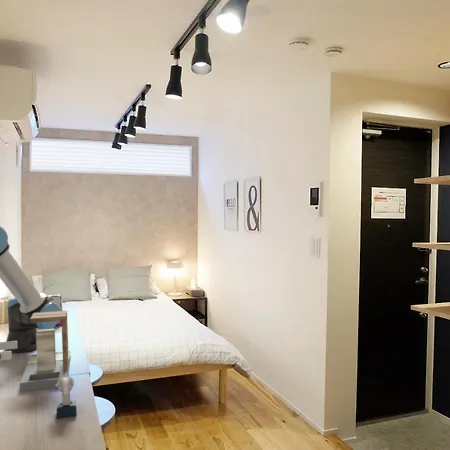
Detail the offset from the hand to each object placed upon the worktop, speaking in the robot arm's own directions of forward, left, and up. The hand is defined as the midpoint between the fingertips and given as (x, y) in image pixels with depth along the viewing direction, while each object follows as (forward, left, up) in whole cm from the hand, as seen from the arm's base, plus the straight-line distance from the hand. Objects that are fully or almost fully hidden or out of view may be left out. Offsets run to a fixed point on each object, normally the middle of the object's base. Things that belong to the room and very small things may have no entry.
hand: (14, 349), depth 171 cm
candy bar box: (-83, +6, -11) cm, 84 cm away
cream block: (0, +11, -8) cm, 14 cm away
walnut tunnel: (0, +12, -8) cm, 15 cm away
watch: (+37, +19, -11) cm, 43 cm away
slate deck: (-4, +11, -11) cm, 16 cm away
